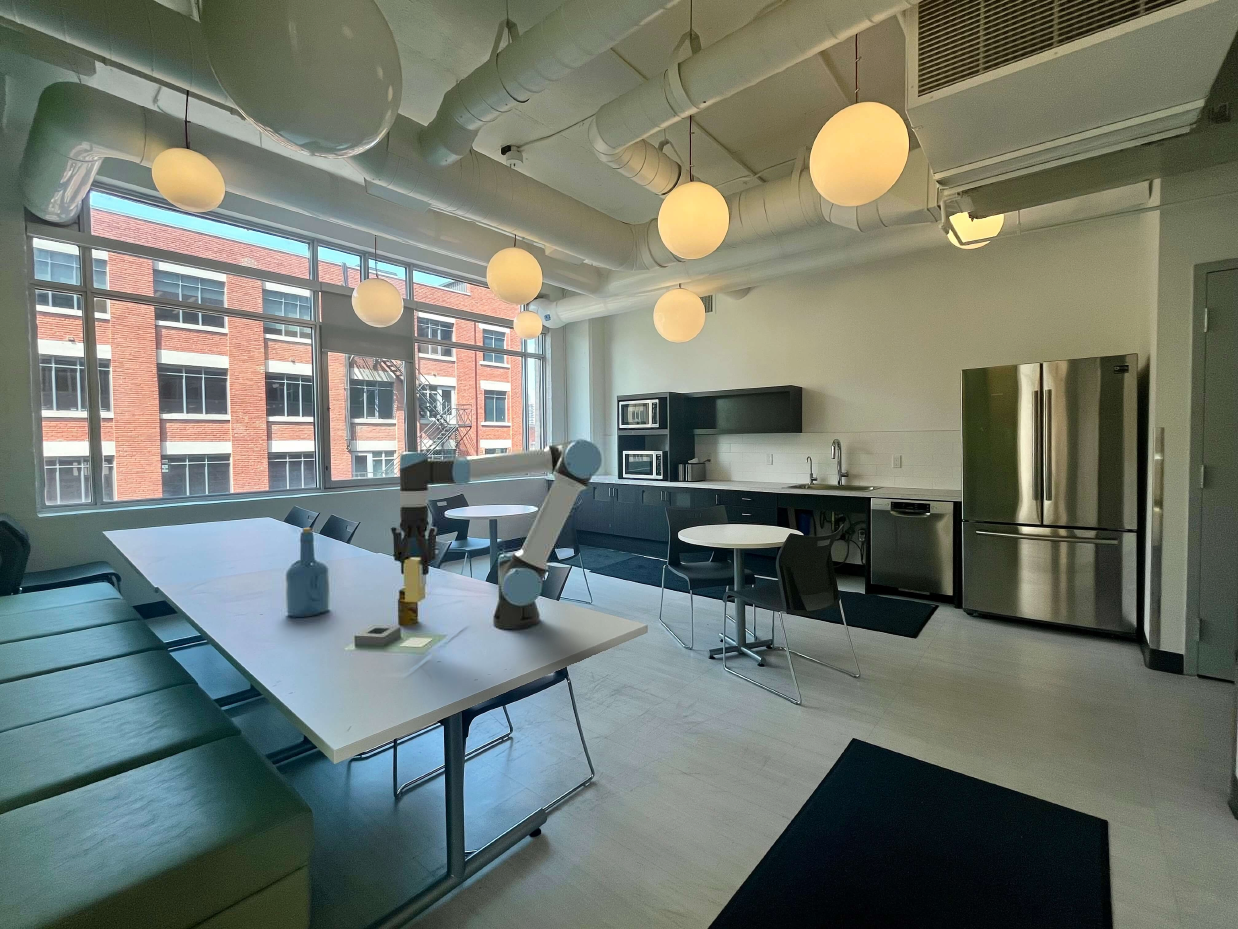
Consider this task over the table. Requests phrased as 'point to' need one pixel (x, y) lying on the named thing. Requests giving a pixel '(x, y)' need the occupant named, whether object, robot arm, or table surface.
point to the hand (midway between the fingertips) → (415, 585)
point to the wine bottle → (307, 582)
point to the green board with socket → (393, 640)
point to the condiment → (406, 610)
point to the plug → (413, 581)
